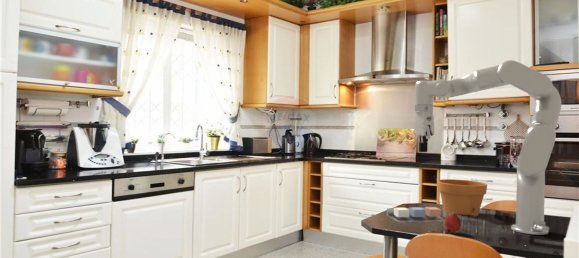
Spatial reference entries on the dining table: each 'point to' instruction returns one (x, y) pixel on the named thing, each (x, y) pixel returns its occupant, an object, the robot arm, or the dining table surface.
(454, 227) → the onion
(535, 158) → the robot arm
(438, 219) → the clear tray
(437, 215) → the pink square block
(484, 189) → the flower pot
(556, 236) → the dining table surface
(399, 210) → the ivory key
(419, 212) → the slate key
